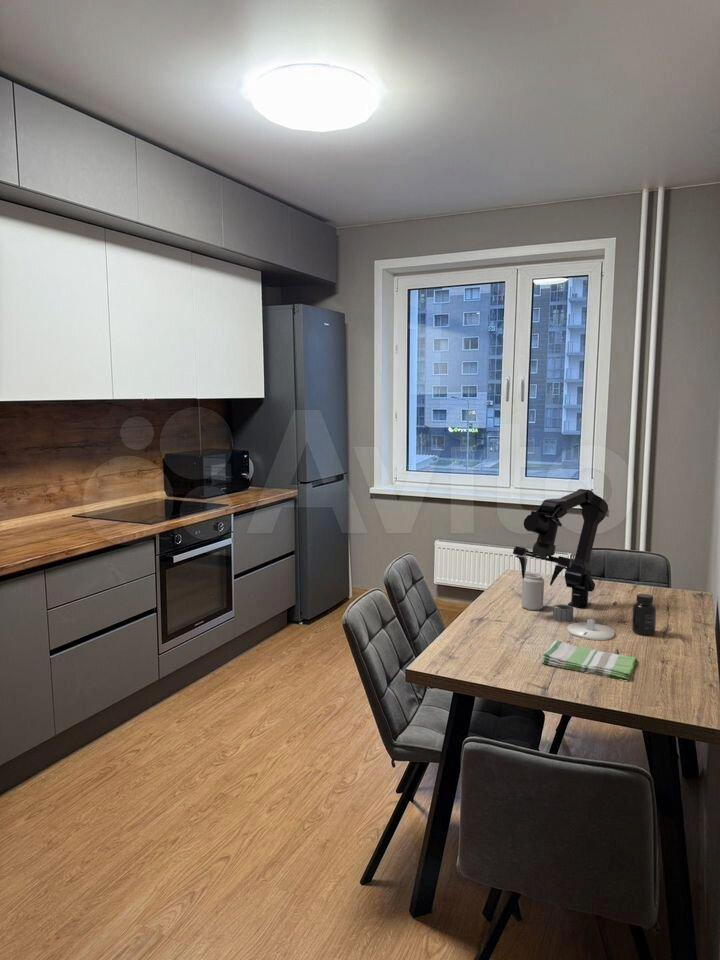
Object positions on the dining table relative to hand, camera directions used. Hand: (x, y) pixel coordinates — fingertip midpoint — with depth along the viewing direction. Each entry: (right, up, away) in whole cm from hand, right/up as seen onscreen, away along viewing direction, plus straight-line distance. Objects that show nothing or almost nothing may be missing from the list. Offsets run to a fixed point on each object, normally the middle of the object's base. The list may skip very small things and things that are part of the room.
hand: (536, 582), depth 218 cm
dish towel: (+5, -17, -37) cm, 41 cm away
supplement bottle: (+31, -14, -11) cm, 36 cm away
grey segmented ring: (+9, -13, +1) cm, 16 cm away
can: (+2, -11, +13) cm, 18 cm away
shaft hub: (+14, -14, -12) cm, 23 cm away
